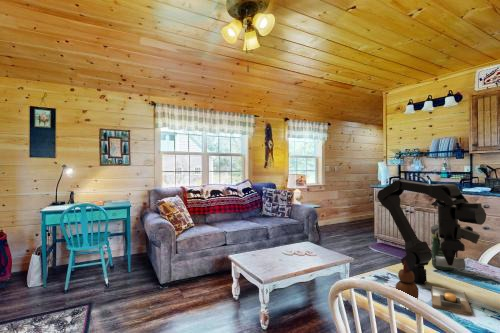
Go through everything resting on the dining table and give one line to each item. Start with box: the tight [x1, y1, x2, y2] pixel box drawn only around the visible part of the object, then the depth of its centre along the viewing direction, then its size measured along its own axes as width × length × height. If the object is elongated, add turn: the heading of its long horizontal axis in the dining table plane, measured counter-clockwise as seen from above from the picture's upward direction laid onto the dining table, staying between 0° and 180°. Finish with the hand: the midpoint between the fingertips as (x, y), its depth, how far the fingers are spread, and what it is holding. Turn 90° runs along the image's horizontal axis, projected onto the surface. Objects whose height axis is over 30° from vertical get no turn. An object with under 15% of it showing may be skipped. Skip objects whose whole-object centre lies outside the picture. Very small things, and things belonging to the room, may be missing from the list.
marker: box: [433, 256, 466, 270], centre depth 95 cm, size 9×3×3 cm, turn 61°
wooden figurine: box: [394, 261, 419, 300], centre depth 90 cm, size 7×6×15 cm
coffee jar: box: [430, 224, 454, 271], centre depth 121 cm, size 10×8×19 cm
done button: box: [445, 293, 456, 302], centre depth 87 cm, size 3×3×2 cm
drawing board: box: [430, 285, 473, 316], centre depth 91 cm, size 10×15×2 cm, turn 147°
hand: (449, 263), depth 95 cm, fingers closed on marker, 3 cm apart
